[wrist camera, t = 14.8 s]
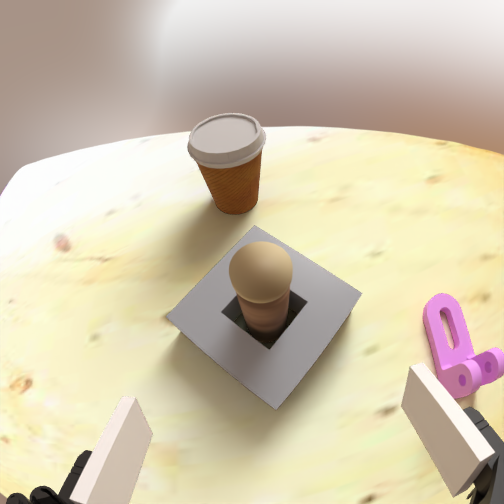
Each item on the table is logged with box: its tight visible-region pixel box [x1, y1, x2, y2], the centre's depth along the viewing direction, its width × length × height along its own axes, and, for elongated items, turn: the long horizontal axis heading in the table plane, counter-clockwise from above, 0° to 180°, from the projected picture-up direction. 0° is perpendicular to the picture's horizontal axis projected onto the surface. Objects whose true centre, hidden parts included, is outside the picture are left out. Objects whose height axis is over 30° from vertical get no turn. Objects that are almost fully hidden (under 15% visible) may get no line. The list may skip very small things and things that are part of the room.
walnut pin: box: [229, 241, 293, 343], centre depth 26 cm, size 5×5×13 cm
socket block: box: [166, 225, 362, 410], centre depth 30 cm, size 14×14×5 cm
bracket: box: [423, 293, 504, 399], centre depth 25 cm, size 13×6×7 cm, turn 6°
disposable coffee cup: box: [187, 113, 266, 214], centre depth 37 cm, size 10×10×12 cm
